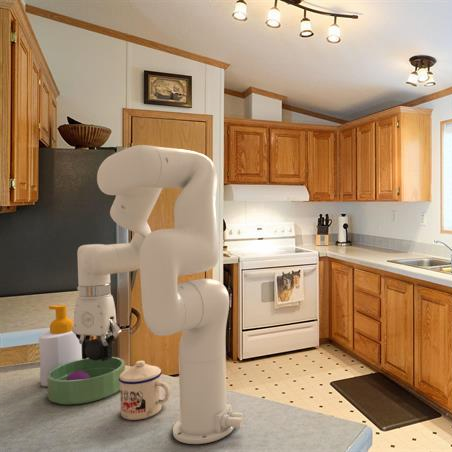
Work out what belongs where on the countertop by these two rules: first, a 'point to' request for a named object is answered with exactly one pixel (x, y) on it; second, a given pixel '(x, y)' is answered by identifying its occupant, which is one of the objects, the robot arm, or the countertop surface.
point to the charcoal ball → (94, 349)
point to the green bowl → (85, 381)
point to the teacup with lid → (141, 391)
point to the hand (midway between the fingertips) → (97, 357)
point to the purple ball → (78, 375)
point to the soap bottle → (58, 344)
